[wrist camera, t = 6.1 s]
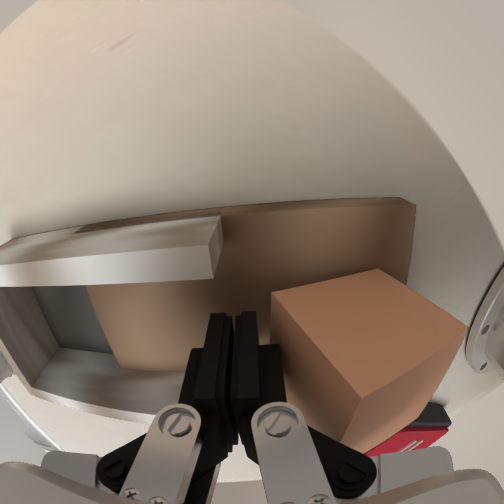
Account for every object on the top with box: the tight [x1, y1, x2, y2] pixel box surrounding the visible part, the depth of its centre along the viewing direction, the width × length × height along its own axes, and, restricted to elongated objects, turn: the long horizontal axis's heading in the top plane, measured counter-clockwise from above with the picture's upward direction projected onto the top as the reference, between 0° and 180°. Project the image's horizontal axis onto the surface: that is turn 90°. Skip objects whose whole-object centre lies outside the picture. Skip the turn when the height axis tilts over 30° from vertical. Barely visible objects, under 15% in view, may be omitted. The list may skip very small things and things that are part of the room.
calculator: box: [363, 402, 451, 457], centre depth 17 cm, size 11×4×15 cm
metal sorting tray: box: [0, 198, 416, 424], centre depth 11 cm, size 22×9×4 cm, turn 95°
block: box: [270, 268, 469, 453], centre depth 9 cm, size 5×5×5 cm
